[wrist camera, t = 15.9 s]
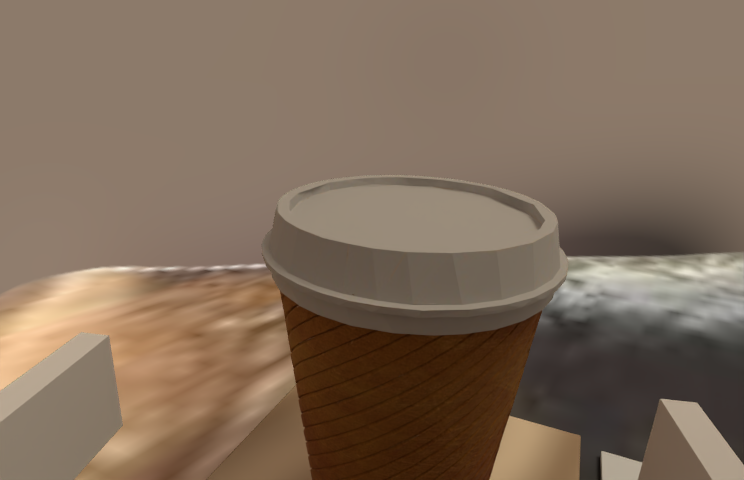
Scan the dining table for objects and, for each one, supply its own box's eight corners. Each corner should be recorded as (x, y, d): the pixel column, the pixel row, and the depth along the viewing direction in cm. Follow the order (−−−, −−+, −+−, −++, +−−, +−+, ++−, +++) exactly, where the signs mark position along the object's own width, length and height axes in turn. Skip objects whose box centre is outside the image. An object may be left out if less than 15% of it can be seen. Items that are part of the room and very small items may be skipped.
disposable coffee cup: (544, 648, 15) (626, 275, 11) (233, 600, 16) (203, 243, 12) (503, 428, 24) (540, 180, 20) (307, 407, 25) (304, 166, 21)
